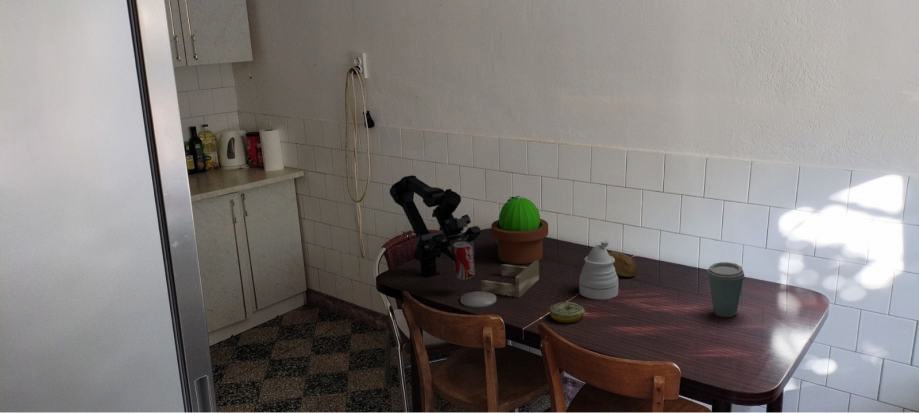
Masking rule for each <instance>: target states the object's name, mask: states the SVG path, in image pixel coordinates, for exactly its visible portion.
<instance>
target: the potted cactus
mask: <svg viewBox="0 0 919 413" xmlns="http://www.w3.org/2000/svg"><path fill="white" fill-rule="evenodd" d="M537 207H538V206H536V205H535V202H533V201H531V200H530V199H529V198H527V197H523V196H520V195H515V196H511V197H509V199H507V201H506V202H505V203H504V204H502V207H500V212H499V215H498V219H497V220H495V221H493V222H492V223H491V226H490V227H491V228H490V230H491V231H490V232H491V236H492V237H493V238H494V239H496V240H497V257H498V259H499V261H501V262H502V263H505V264H508V265H527V264H529V265H531V264H532V263H533V262H534V261H535V260H538V261H539V262H540V261H541V260H542V259H543V257H544V256H543V255H544V254H543V252H544V251H543V248H544V247H543V246H544V245H543V239H545V238H546V237H548V235H549V223H548V221H546V220H545V219H543V218H541V217H542V216H541V215H540V211H539V209H538V208H539V207H538V208H537Z"/></svg>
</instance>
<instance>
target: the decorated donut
mask: <svg viewBox="0 0 919 413" xmlns="http://www.w3.org/2000/svg"><path fill="white" fill-rule="evenodd" d="M548 311H549V315H550V317H551V318H552V320H554V321H556V322H559V323H564V324H570V323H574V322H576V323H577V322H579V321H580V320H581V319H582V318H583V316H584V315H585V314H586V310H585V309H584V307H583V306H582V305H581V304H578V303H576V302H572V301H564V302H563V301H562V302H558V303H554V304H552V305H551V306H550V307H549V310H548Z"/></svg>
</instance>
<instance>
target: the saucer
mask: <svg viewBox="0 0 919 413" xmlns="http://www.w3.org/2000/svg"><path fill="white" fill-rule="evenodd" d="M496 302H497V296H496V294H492V293H490V292H484V291H481V290H479V291H477V290H476V291H471V292H470V291H469V292H467V293H464V294H462V295H461V297H460V303H461V304H462V305H464V306H466V307H470V308H485V307H489V306H492V305H494V304H495V303H496Z"/></svg>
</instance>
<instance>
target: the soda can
mask: <svg viewBox="0 0 919 413" xmlns="http://www.w3.org/2000/svg"><path fill="white" fill-rule="evenodd" d="M452 250H453V252H454V254H455V256H456V258H457V261H456V262H455V261H453V260H452V261H453V262H452V263H453V271H454V276H455V278H456V279H459V280H464V281H466V280H470V279H471V278H473V277H475V275H476V268H475V267H476V266H475V258H474V257H475V256H474V257H473V250H472V247H471V245H470V243H469V242H467V241H465V240H461V241H456V242H454V243H453V245H452Z"/></svg>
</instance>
